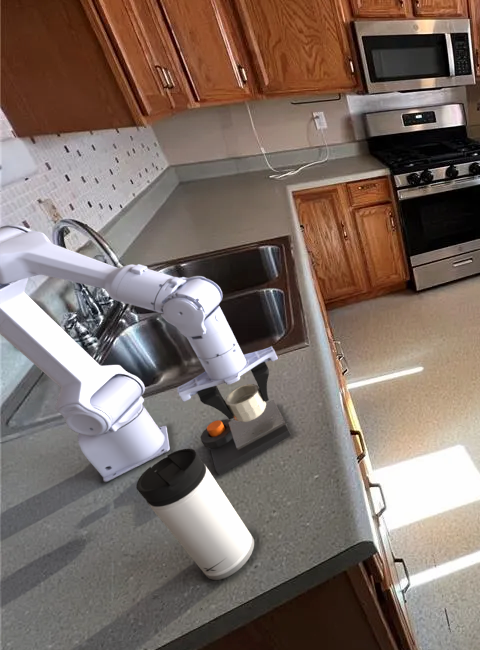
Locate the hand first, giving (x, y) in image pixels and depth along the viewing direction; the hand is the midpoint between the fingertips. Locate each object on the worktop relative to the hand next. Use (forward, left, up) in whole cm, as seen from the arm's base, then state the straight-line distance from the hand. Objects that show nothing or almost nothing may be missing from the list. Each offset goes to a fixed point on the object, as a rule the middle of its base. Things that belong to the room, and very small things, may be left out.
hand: (248, 406), depth 75 cm
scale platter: (0, 0, -4) cm, 4 cm away
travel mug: (-9, -21, -8) cm, 24 cm away
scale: (-2, +1, -8) cm, 8 cm away
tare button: (-6, +4, -5) cm, 9 cm away
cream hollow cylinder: (0, 0, -1) cm, 1 cm away
